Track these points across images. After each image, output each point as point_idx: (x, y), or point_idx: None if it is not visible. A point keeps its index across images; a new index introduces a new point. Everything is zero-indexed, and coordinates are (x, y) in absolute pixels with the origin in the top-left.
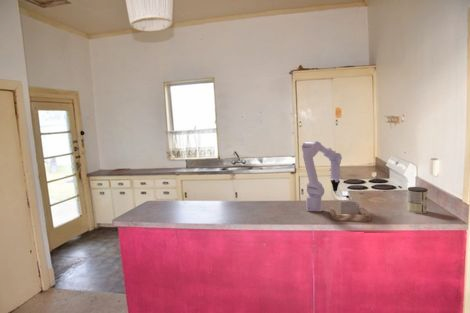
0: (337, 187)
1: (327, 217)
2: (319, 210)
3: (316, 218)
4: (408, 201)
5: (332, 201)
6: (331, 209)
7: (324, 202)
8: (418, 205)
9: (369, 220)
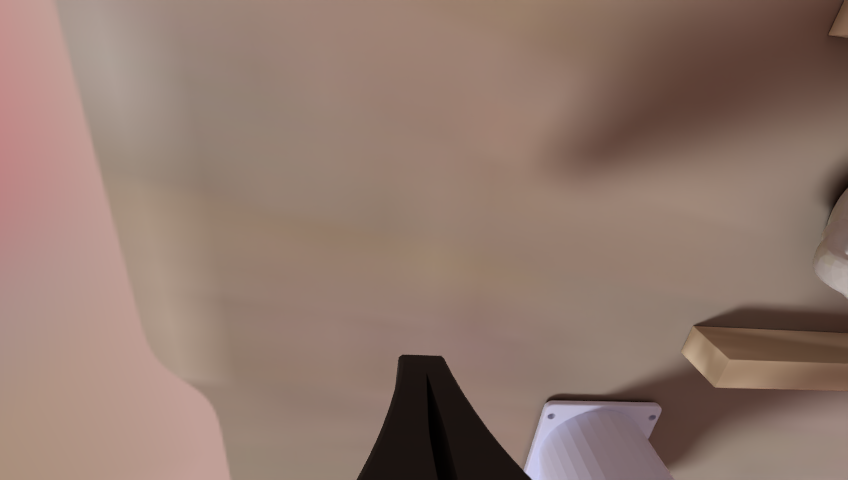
0: (475, 413)
1: None
2: (645, 427)
3: (808, 452)
4: None
5: (223, 241)
6: (803, 383)
7: (291, 339)
8: None
9: None
